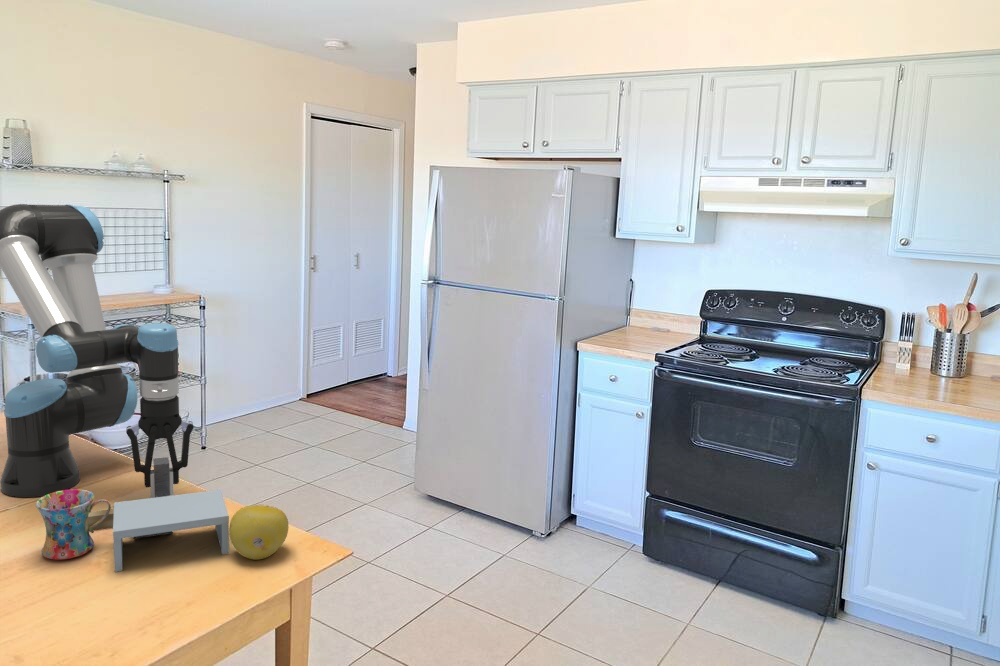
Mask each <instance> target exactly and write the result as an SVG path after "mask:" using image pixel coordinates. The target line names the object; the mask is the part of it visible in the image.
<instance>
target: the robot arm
mask: <svg viewBox="0 0 1000 666" xmlns="http://www.w3.org/2000/svg"><path fill="white" fill-rule="evenodd" d="M102 226H103V225H102V224H101V221H100V220H99V218H98V216H97V215H96V214H95V213H94V211H92V210H91V209H90V208H88V207H85V206H81V205H73V204H27V203H26V204H25V203H19V204H11V205H9V206H6V207H4V208H2V209H0V269H1V270H2V273H3V274H4V275H5V277H6V279H7V281H8V282H9V285H10V286H11V288H12V289H13V292H14V294H15V295H16V296H17V298H18V300H19V302H20V303H21V305H22V307H23V309H24V311H25V312H26V314H27V315H28V317H29V319H30V321H31V323H32V324H33V326H34V328H35V330H36V332H37V333H38V336H40V338H39V339H38V340H37V343H36V346H35V354H36V358H37V362H38V364H39V366H40V368H41V369H42V370H43V371H44V372H46V373H50V374H51V373H66V372H67V373H68V372H69V373H68V374H67V375H66V382H65V380H63V379H60V378H47V379H37V380H31V381H28V382H23V383H22V384H18V385H16V386H15V387H13V388H11V389H10V390H9V391H8V392H7V393H6V394H5V397H4V410H3V411H4V412H3V414H4V416H5V425H6V426H5V427H6V429H5V430H6V443H7V459H6V462H5V465H4V469H3V472H2V475H1V477H0V491H1V492H2V493H3V494H4V493H5V494H4V495H6V494H7V496H10V497H14V496H15V497H14V498H36V497H43V496H45V495H48V494H50V493H53V492H57V491H62V490H70V488H71V489H72V488H73V487H75V486H76V485H77V484H78V483H79V482H80V480H81V479H80V477H81V476H80V468H79V466H78V464H77V461H76V460H75V457H74V455H73V454H72V451H71V449H70V440H69V439H70V436H71V435H73V434H79V433H84V432H88V431H89V432H90V431H94V430H98V429H103V428H108V427H109V428H110V427H114V426H115V425H119V424H123V423H126V422H128V421H129V420H131V419H132V418H133V416H134V414H135V412H136V409H137V406H138V390H137V389H138V388H137V385H136V382H135V381H134V378H133V377H132V376H131V375H130V374H129V375H128V374H126V373H123V369H122V366H121V365H119V364H124V363H134V364H136V365H138V374H139V378H138V381H139V396H141V398H140V399H139V404H140V407H139V409H140V412H139V413H140V417H139V420H138V422H137V423H136V424H133V425H132V426H131V425H128V426H126V431H125V432H126V434H127V438H129V440H130V446H131V451H132V460H133V466H134V472H135V473H142V474H143V476H144V477H143V479H144V487H145V488H150V498H155V485H154V469H152V463H153V459H154V458H153V456H154V450H155V444H156V440H158V439H159V440H160V439H163V440H164V439H166V443H167V448H168V453H169V456H170V457H169V458H170V461H171V462H170V463H171V466H172V467H169V471H170V496H172V495H175V494H174V490H175V489H174V485H177V484H179V483H180V477H179V476H180V474H179V473H180V469H183V468H186V467H188V465H189V463H188V462H189V453H190V451H189V450H190V440H191V434H192V431H193V430H194V423H193V421H191V420H189V421H185V420H183V419H182V417H181V415H180V397H179V396H178V394H179V341H178V332H177V331H178V330H177V328H176V326H174V325H173V324H169V323H161V322H153V323H152V322H151V323H145V324H142V325H140V326H138V325H133V324H118V325H116V326H114V327H113V328H111V329H107V328H106V323H105V319H104V313H103V309H102V305H101V301H100V296H99V291H98V287H97V282H96V278H95V277H96V276H95V273H94V268H93V266H94V264H95V262H96V261H97V260H98V259H99V257H98V253H100V252H101V251H102V250H103V247H104V238H105V237H104V235H105V234H104V231H103V228H102ZM47 268H48V269H49V270H50V271H51V274H50V273H49V270H48V269H47ZM179 427H181V431H182V432H183V433H182V442H181V444H182V445H181V455H180V457H181V459H180V460H178V457H177V453H176V448H175V442H174V439H173V438H174V436H173V435H174V434H175V433H176V431H177V430H178V429H179ZM140 430H141V431H142V432H143V433H144V434H145V435H146V436H147V437H148V438H147V446H146V451H145V452H146V453H145V457H144V458H145V460H144V464H142V463H141V457H140V456H141V455H140V449H139V439H138V436H139V434H140Z"/></svg>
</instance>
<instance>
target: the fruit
mask: <svg viewBox="0 0 1000 666" xmlns="http://www.w3.org/2000/svg"><path fill="white" fill-rule="evenodd" d="M288 533H289V521H288V518H287V515H286V514H285V512H284V511H283V510H281V509H279V508H278V507H276V506H274V505H268V504H266V505H265V504H262V503H261V504H254V505H247V506H244V507H241V508H240V509H239V510H236V512H235V513H234V514H233V516H232V517H231V519H230V520H229V539H230V542H231V545H232V546H233V548H234V550H235V551H236V552H238V553H239V555H241V556H242V557H244V558H247V559H250V560H254V561H256V560H263V559H266V558H269V557H270V556H272V555H273V554H275V553H276V552H277V551H278V550H279V549H280V548H281V546H282V545H283V544H284V542H285V541H286V539H287V537H288Z"/></svg>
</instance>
